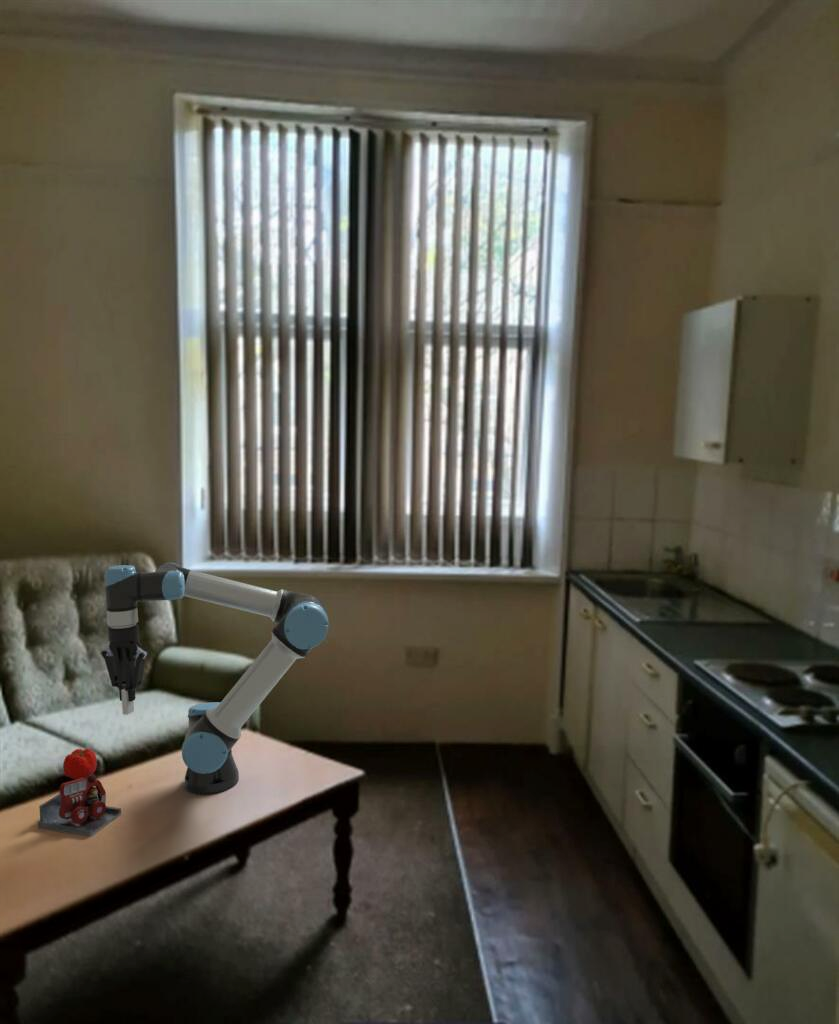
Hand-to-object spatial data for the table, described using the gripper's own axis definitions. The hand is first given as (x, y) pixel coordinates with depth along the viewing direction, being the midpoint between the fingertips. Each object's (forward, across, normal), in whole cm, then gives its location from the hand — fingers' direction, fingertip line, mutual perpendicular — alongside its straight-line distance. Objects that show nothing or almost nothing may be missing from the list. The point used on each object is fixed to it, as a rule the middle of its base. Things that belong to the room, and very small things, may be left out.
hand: (128, 712), depth 198 cm
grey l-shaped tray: (+27, +10, +8) cm, 30 cm away
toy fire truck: (+26, +9, +8) cm, 29 cm away
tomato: (+27, +29, -15) cm, 42 cm away
